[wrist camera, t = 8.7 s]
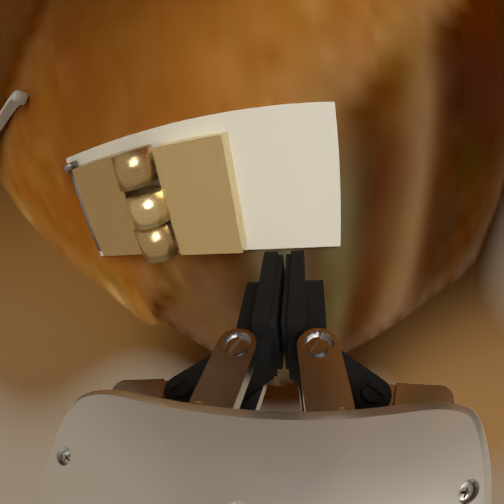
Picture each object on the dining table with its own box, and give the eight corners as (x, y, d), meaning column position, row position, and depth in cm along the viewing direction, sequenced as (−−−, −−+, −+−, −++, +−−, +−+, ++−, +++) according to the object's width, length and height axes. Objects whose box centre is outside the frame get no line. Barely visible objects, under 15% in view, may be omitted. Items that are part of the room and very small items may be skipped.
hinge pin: (69, 162, 28) (59, 167, 26) (79, 158, 27) (68, 163, 26) (99, 247, 34) (92, 254, 33) (109, 246, 34) (101, 254, 32)
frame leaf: (84, 163, 28) (60, 175, 24) (158, 141, 25) (136, 150, 22) (113, 246, 34) (95, 264, 30) (185, 241, 31) (171, 263, 28)
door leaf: (128, 151, 26) (105, 163, 23) (227, 131, 24) (214, 138, 20) (157, 245, 32) (140, 266, 29) (246, 240, 30) (238, 264, 26)
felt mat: (67, 157, 28) (65, 158, 28) (333, 101, 21) (334, 101, 21) (102, 254, 36) (101, 256, 35) (339, 244, 29) (340, 246, 29)
